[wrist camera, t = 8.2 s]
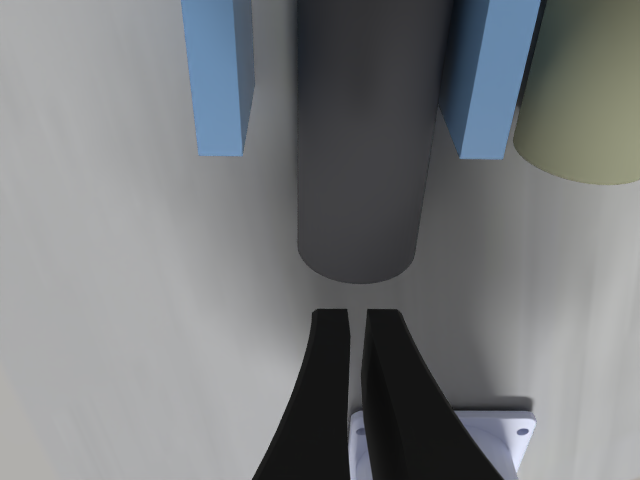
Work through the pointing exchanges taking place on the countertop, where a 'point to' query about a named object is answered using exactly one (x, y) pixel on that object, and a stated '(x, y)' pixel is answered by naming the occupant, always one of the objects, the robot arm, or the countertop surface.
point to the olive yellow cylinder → (584, 93)
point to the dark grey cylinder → (366, 130)
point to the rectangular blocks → (456, 87)
